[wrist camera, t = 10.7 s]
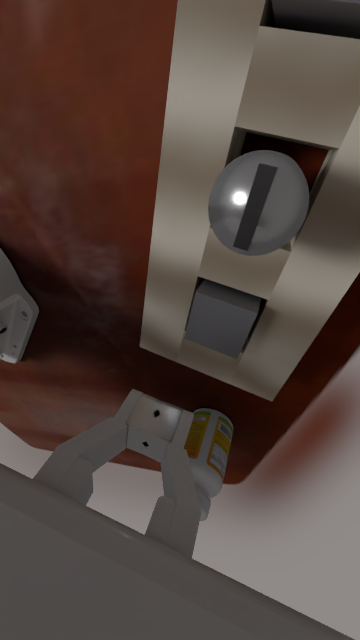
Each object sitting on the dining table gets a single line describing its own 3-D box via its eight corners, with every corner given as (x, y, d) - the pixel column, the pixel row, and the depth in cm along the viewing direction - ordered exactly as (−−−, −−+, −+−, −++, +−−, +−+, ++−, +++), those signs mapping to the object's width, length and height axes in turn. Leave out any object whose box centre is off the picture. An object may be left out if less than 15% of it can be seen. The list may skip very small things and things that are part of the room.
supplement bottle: (188, 425, 33) (157, 506, 25) (195, 400, 30) (162, 484, 22) (228, 442, 32) (207, 532, 24) (239, 417, 29) (220, 513, 21)
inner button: (247, 321, 21) (237, 359, 17) (203, 306, 22) (183, 338, 18) (264, 280, 19) (257, 313, 15) (215, 264, 20) (195, 291, 16)
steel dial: (285, 235, 14) (282, 272, 10) (223, 218, 15) (194, 245, 10) (317, 161, 12) (333, 164, 7) (244, 144, 12) (218, 138, 8)
